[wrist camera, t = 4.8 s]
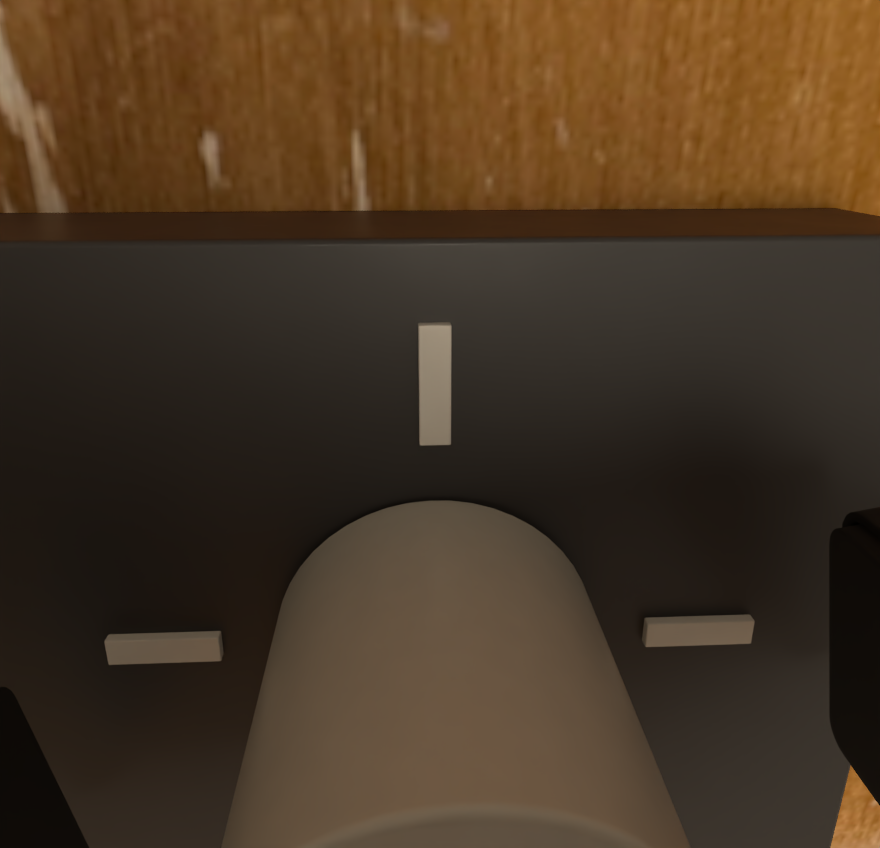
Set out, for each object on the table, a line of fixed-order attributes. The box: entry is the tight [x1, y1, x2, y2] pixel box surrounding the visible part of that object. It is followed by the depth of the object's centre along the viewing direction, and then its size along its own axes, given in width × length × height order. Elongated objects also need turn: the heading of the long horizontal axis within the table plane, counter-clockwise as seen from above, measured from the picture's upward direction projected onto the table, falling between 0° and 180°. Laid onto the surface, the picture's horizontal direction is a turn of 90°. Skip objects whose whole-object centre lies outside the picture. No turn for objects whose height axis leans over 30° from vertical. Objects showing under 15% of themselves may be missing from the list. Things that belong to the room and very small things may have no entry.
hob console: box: [0, 208, 880, 848], centre depth 11 cm, size 12×10×3 cm
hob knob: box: [221, 500, 691, 848], centre depth 8 cm, size 4×4×5 cm
